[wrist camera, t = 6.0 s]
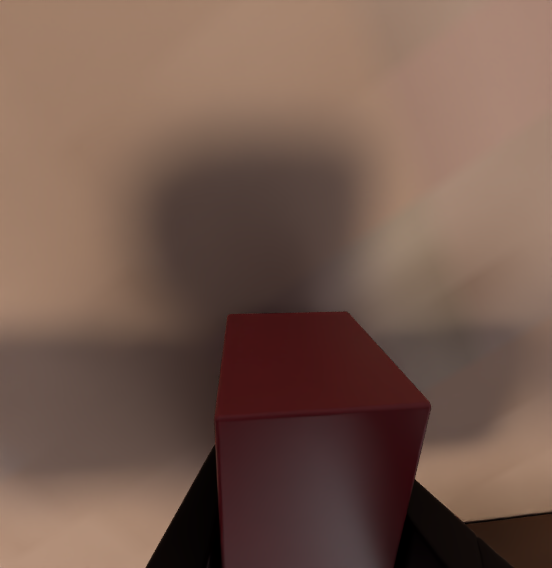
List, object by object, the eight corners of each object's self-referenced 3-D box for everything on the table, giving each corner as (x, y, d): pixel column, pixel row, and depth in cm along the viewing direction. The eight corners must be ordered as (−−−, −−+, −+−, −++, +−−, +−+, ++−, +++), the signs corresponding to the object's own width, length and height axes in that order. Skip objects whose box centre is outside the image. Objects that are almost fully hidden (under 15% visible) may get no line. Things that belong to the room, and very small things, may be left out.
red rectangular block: (348, 310, 8) (434, 404, 5) (327, 501, 11) (372, 666, 7) (227, 312, 8) (213, 418, 4) (233, 511, 10) (227, 692, 7)
